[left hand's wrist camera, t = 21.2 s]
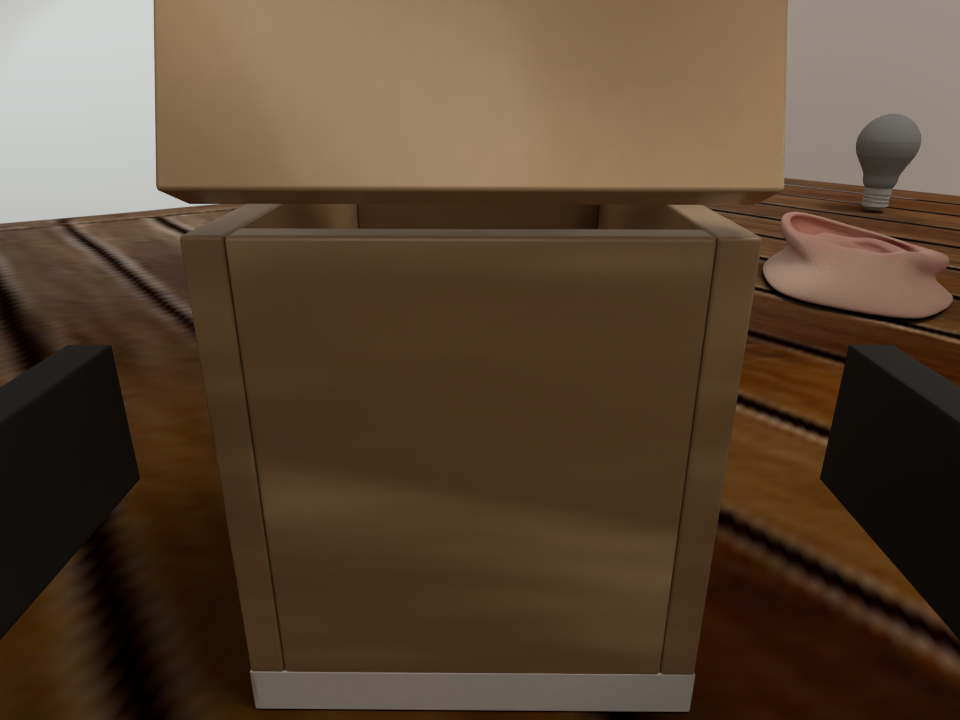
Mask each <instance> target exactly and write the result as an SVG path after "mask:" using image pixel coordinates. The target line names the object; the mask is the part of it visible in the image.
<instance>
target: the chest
mask: <svg viewBox="0 0 960 720" xmlns="http://www.w3.org/2000/svg"><path fill="white" fill-rule="evenodd" d="M180 242H181V248H182V254H183V261H184V267H185V273H186V279H187V285H188V291H189V297H190V303H191V309H192V315H193V321H194V327H195V333H196V339H197V345H198V351H199V357H200V363H201V369H202V375H203V381H204V387H205V393H206V399H207V405H208V412H209V418H210V424H211V430H212V436H213V442H214V448H215V454H216V460H217V466H218V472H219V478H220V484H221V490H222V496H223V502H224V508H225V514H226V520H227V526H228V532H229V538H230V544H231V550H232V557H233V563H234V569H235V575H236V581H237V587H238V593H239V599H240V605H241V611H242V617H243V623H244V629H245V635H246V641H247V647H248V653H249V659H250V665H251V670H250V676H251V682H252V688H253V694H254V700H255V706H256V708H269V709H398V710H527V711H656V712H689V710H690V704H691V698H692V691H693V685H694V679H695V674H694V669H695V663H696V656H697V650H698V644H699V637H700V631H701V624H702V618H703V612H704V605H705V599H706V593H707V586H708V580H709V574H710V567H711V561H712V555H713V548H714V542H715V536H716V529H717V523H718V517H719V510H720V504H721V498H722V491H723V485H724V479H725V472H726V466H727V460H728V453H729V447H730V441H731V434H732V428H733V422H734V415H735V409H736V403H737V396H738V390H739V384H740V377H741V371H742V365H743V358H744V352H745V345H746V339H747V333H748V326H749V320H750V314H751V307H752V301H753V295H754V288H755V282H756V276H757V269H758V263H759V257H760V250H761V244H762V238H761V237H759V236H757V235H755V234H753V233H752V232H750V231H748V230H746V229H744V228H743V227H741V226H739V225H737V224H735V223H734V222H732V221H730V220H728V219H726V218H725V217H723V216H721V215H719V214H717V213H715V212H714V211H712V210H710V209H708V208H706V207H705V206H703V205H523V204H245V205H243V206H241V207H239V208H237V209H235V210H233V211H231V212H229V213H227V214H225V215H223V216H221V217H219V218H217V219H215V220H213V221H211V222H209V223H207V224H205V225H203V226H201V227H199V228H197V229H195V230H193V231H191V232H189V233H187V234H185V235H182V236H181V237H180Z"/></svg>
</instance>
